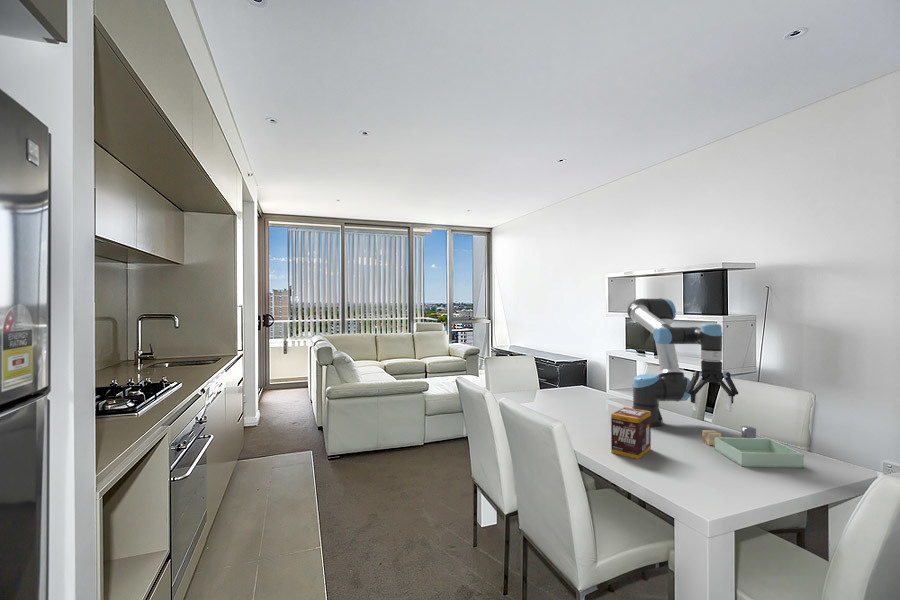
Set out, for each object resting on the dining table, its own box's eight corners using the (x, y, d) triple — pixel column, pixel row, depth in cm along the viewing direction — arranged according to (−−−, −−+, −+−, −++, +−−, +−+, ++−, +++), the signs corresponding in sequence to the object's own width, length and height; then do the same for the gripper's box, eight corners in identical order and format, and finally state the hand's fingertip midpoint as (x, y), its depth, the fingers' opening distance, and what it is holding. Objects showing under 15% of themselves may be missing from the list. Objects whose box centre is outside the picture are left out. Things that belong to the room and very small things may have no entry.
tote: (714, 449, 170) (714, 437, 170) (770, 451, 169) (770, 438, 169) (741, 466, 153) (741, 452, 153) (803, 468, 151) (803, 454, 151)
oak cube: (702, 442, 180) (702, 430, 180) (714, 442, 179) (714, 430, 179) (708, 445, 175) (708, 433, 175) (721, 446, 174) (721, 434, 174)
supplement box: (610, 453, 166) (610, 413, 167) (625, 443, 178) (625, 406, 178) (637, 459, 159) (637, 418, 159) (651, 449, 171) (651, 410, 171)
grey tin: (738, 442, 179) (738, 426, 179) (751, 442, 178) (751, 426, 178) (746, 446, 174) (746, 429, 174) (759, 446, 173) (759, 429, 173)
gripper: (685, 361, 174) (685, 412, 174) (748, 361, 173) (748, 413, 172) (676, 359, 182) (677, 408, 182) (736, 359, 180) (737, 409, 180)
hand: (711, 410), depth 177 cm, fingers open, 13 cm apart
